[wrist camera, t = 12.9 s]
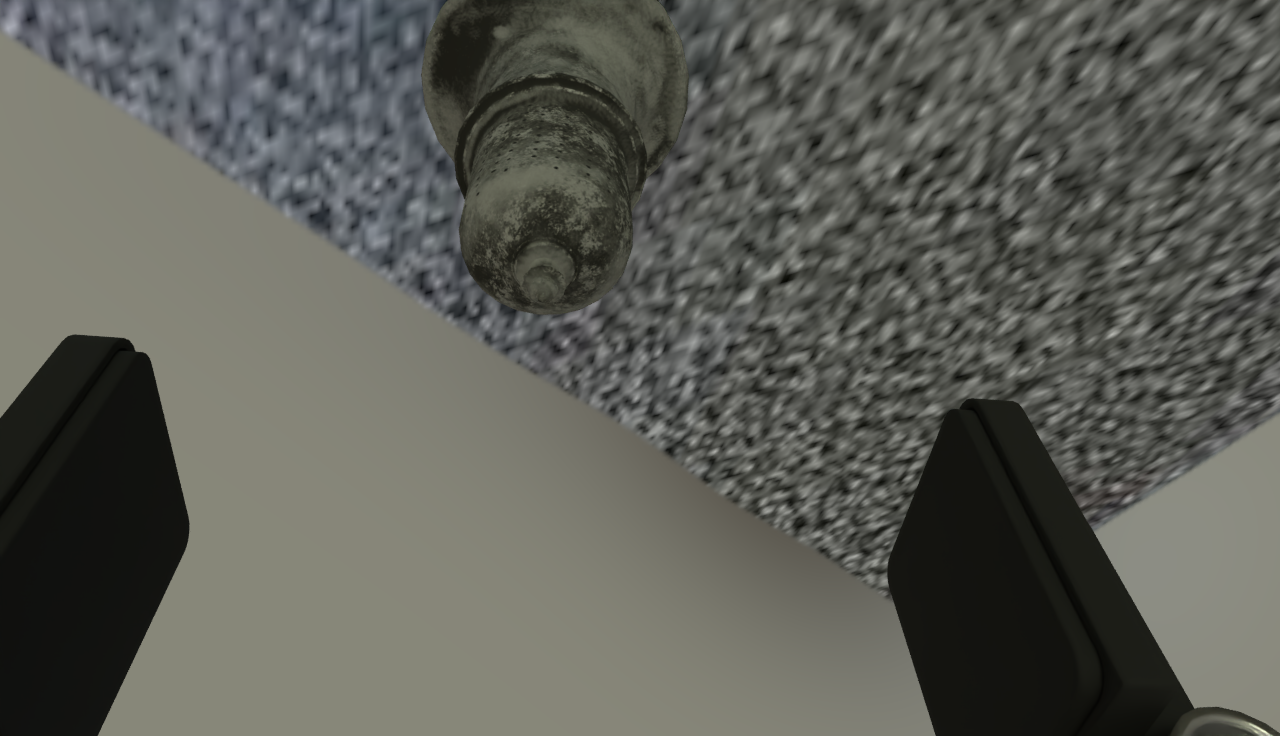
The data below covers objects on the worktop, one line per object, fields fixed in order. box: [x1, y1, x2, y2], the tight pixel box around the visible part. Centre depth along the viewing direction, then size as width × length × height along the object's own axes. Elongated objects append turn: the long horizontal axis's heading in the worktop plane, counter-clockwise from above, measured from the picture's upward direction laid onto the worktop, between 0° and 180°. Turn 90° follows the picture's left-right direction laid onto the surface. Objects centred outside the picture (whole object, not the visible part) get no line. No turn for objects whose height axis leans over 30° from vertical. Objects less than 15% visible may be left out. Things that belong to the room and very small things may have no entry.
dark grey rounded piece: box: [421, 0, 689, 315], centre depth 19 cm, size 6×6×12 cm
